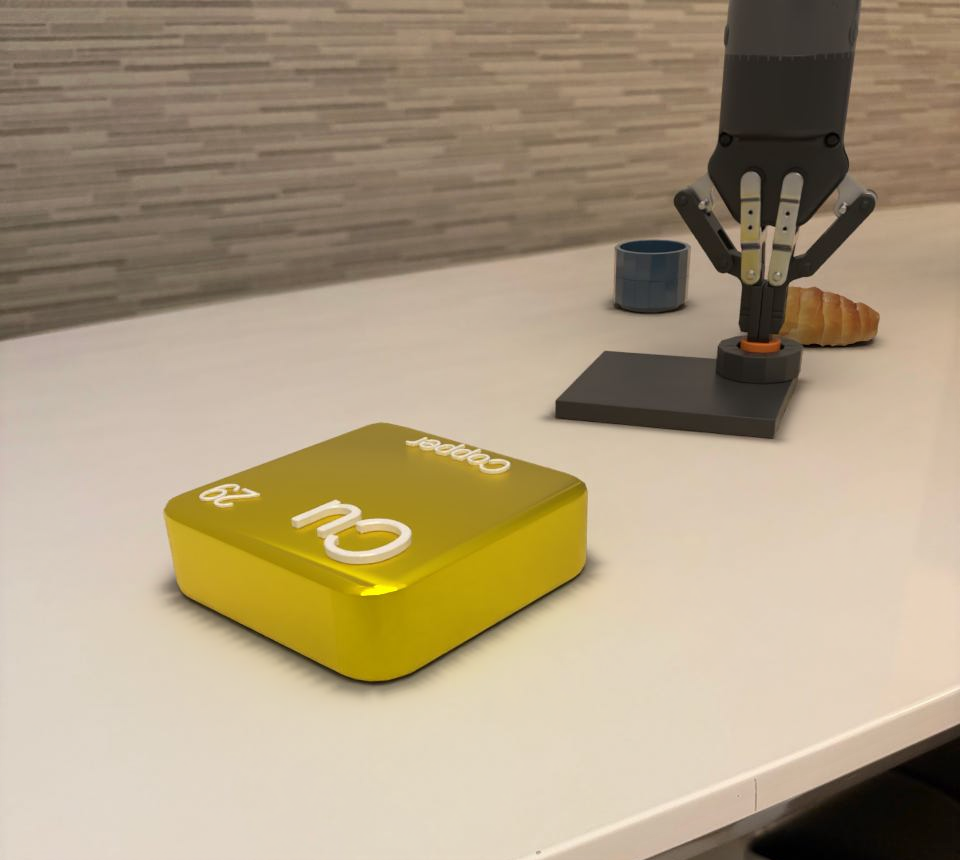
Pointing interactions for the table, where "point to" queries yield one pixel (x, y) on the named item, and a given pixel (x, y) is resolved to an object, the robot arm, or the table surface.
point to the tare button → (761, 345)
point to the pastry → (826, 318)
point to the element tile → (378, 546)
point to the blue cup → (651, 275)
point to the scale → (688, 390)
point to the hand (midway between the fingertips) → (759, 339)
